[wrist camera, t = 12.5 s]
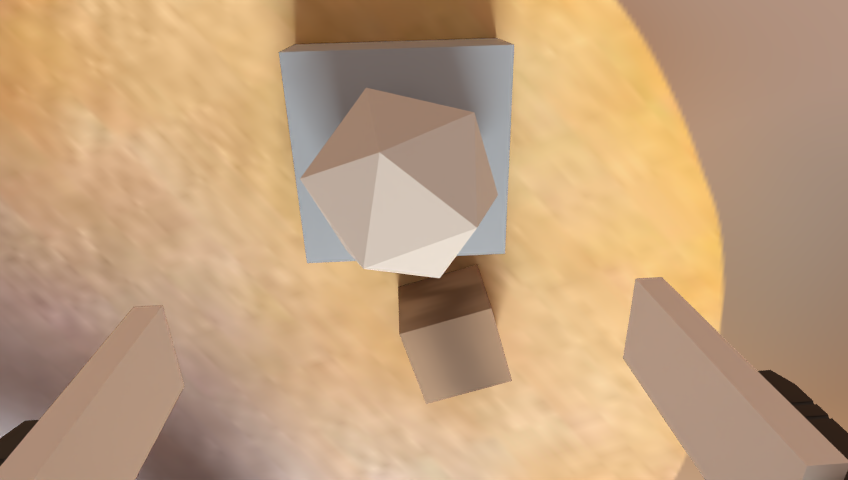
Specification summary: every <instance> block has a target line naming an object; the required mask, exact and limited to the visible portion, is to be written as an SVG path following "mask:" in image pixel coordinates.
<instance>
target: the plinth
mask: <svg viewBox="0 0 848 480" xmlns="http://www.w3.org/2000/svg"><path fill="white" fill-rule="evenodd" d="M279 57H280V65H281V72H282V80H283V87H284V94H285V102H286V109H287V117H288V124H289V132H290V139H291V147H292V154H293V162H294V169H295V176H296V184H297V191H298V199H299V206H300V214H301V221H302V229H303V236H304V244H305V251H306V258H307V263H320V262H340V261H356V260H355V259H354V258H353V257H352V256H351V255H350V254H349V253H348V251H347V250H346V249H345V247H344V246H343V244H342V243H341V241H340V240H339V238H338V237H337V235H336V234H335V232H334V230H333V229H332V227H331V226H330V224H329V223H328V221H327V220H326V218H325V217H324V215H323V214H322V212H321V210H320V209H319V207H318V206H317V204H316V203H315V201H314V200H313V198H312V197H311V195H310V194H309V192H308V191H307V189H306V187H305V186H304V184H303V183H302V181H301V180H300V178H301V177H302V175H303V174H304V173H305V171H306V170H307V168H308V167H309V166H310V164H311V163H312V162H313V160H314V159H315V157H316V156H317V155H318V153H319V152H320V151H321V149H322V148H323V146H324V145H325V144H326V142H327V141H328V140H329V138H330V137H331V135H332V134H333V133H334V131H335V130H336V129H337V127H338V126H339V124H340V123H341V122H342V120H343V119H344V118H345V116H346V115H347V113H348V112H349V111H350V109H351V108H352V107H353V105H354V104H355V102H356V101H357V100H358V98H359V97H360V96H361V94H362V93H363V91H364V90H365V89H366V88H370V89H374V90H379V91H383V92H387V93H392V94H396V95H400V96H405V97H409V98H414V99H418V100H422V101H427V102H431V103H435V104H440V105H444V106H449V107H453V108H457V109H462V110H466V111H470V112H474V113H475V116H476V120H477V123H478V127H479V130H480V134H481V137H482V141H483V144H484V148H485V151H486V155H487V158H488V161H489V165H490V168H491V172H492V175H493V179H494V182H495V186H496V189H497V193H498V196H497V197H496V199H495V201H494V202H493V204H492V205H491V207H490V208H489V210H488V212H487V213H486V215H485V216H484V218H483V220H482V221H481V223H480V224H479V226H478V227H477V229H476V230H475V231H474V233H473V234H472V236H471V237H470V238H469V240H468V241H467V242H466V244H465V245H464V246H463V248H462V249H461V250H460V252H459V253H458V254H457V256H465V255H486V254H505V240H506V217H507V195H508V172H509V150H510V127H511V105H512V82H513V60H514V44H511V43H508V42H506V41H503V40H501V39H498V38H479V39H447V40H415V41H383V42H351V43H318V44H295V45H293V46H291V47H288V48H286V49H284V50H282V51H280V52H279Z"/></svg>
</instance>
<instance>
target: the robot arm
mask: <svg viewBox="0 0 848 480" xmlns="http://www.w3.org/2000/svg"><path fill="white" fill-rule="evenodd" d="M623 359H624V360H625V362H626V363H627V365H628V366H629V368H630V369H631V371H632V372H633V374H634V375H635V377H636V378H637V380H638V381H639V383H640V384H641V386H642V387H643V389H644V390H645V392H646V393H647V395H648V396H649V398H650V399H651V400H652V402H653V403H654V405H655V406H656V408H657V409H658V411H659V412H660V414H661V415H662V417H663V418H664V420H665V421H666V423H667V424H668V426H669V427H670V429H671V430H672V432H673V433H674V435H675V436H676V438H677V439H678V441H679V442H680V444H681V445H682V447H683V448H684V449H685V451H686V452H687V454H688V455H689V457H690V458H691V460H692V461H693V463H694V464H695V466H696V467H697V468H698V470H699V472H700V473H701V475H702V476H703V478H704V479H705V480H848V433H847V432H846V431H845V430H844V429H843V428H842V427H841V426H840V425H839V424H838V423H836V422H835V421H834V420H833V419H829V417H828V414H827V413H826V412H825V411H823V410H822V409H821V408H820V407H819V406H818V405H817V404H816V405H815V404H814V403H813V401H812V399H810V398H809V397H808V396H807V395H806V394H805V393H804V392H803V391H802V390H801V389H800V388H799V387H798V386H796V385H795V384H794V383H792V382H790V381H788V380H787V379H785V378H783V377H782V376H780V375H778V374H776V373H775V372H773V371H771V370H766V371H757V370H756V369H755V368H754V367H753V366H752V365H751V364H750V363H749V362H748V361H747V360H746V359H745V358H744V357H743V356H742V355H741V354H740V353H738V351H737V350H736V349H734V347H733V346H731V345H730V344H729V343H728V342H727V341H726V340H725V339H724V338H723V337H722V336H721V335H720V334H719V333H718V332H717V331H716V330H715V329H714V328H713V327H712V326H711V325H710V324H709V323H708V322H707V321H706V320H705V319H704V318H703V317H702V316H701V315H700V314H699V313H698V312H697V311H696V310H695V309H694V308H693V307H692V306H691V305H690V304H689V303H688V302H687V301H686V300H685V299H684V298H683V297H682V296H681V295H680V294H679V293H678V292H677V291H676V290H675V289H673V288H672V287H671V286H670V285H669V284H668V283H667V282H666V281H665V280H664V279H663V278H662V277H657V278H639V279H636V280H635V286H634V293H633V299H632V305H631V311H630V318H629V324H628V330H627V337H626V343H625V349H624V356H623ZM183 388H184V383H183V379H182V376H181V372H180V368H179V364H178V361H177V357H176V353H175V349H174V346H173V342H172V338H171V334H170V331H169V327H168V323H167V320H166V316H165V312H164V308H163V305H158V306H140V307H133V308H132V309H131V311H130V312H129V313H128V314H127V315H126V317H125V318H124V319H123V320H122V321H121V323H120V324H119V325H118V326H117V327H116V329H115V330H114V331H113V332H112V333H111V335H110V336H109V337H108V338H107V339H106V341H105V342H104V343H103V344H102V345H101V347H100V348H99V349H98V350H97V351H96V353H95V354H94V355H93V356H92V357H91V359H90V360H89V361H88V362H87V363H86V365H85V366H84V367H83V368H82V369H81V371H80V372H79V373H78V374H77V375H76V376H75V378H74V379H73V380H72V381H71V382H70V384H69V385H68V386H67V387H66V388H65V390H64V391H63V392H62V393H61V394H60V396H59V397H58V398H57V399H56V400H55V402H54V403H53V404H52V405H51V406H50V408H49V409H48V410H47V411H46V412H45V414H44V415H43V416H42V417H41V418H40V420H31V421H24V422H23V423H21V424H20V425H18V426H17V427H16V428H14V429H13V430H12V431H10V432H9V433H7V434H6V435H5V436H3V437H2V438H0V480H135V479H136V477H137V475H138V473H139V471H140V469H141V467H142V466H143V464H144V462H145V460H146V458H147V456H148V454H149V452H150V450H151V449H152V447H153V445H154V443H155V441H156V439H157V437H158V435H159V433H160V432H161V430H162V428H163V426H164V424H165V422H166V420H167V418H168V416H169V414H170V413H171V411H172V409H173V407H174V405H175V403H176V401H177V399H178V397H179V396H180V394H181V392H182V390H183Z"/></svg>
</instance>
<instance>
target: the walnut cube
mask: <svg viewBox="0 0 848 480" xmlns="http://www.w3.org/2000/svg"><path fill="white" fill-rule="evenodd" d="M398 296H399V334H400V337H401V339H402V342H403V345H404V347H405V350H406V352H407V355H408V358H409V360H410V363H411V365H412V368H413V371H414V373H415V376H416V378H417V381H418V384H419V386H420V389H421V391H422V394H423V397H424V399H425V402H426V404H428V403H432V402H435V401H439V400H443V399H446V398H450V397H454V396H457V395H461V394H465V393H469V392H472V391H476V390H480V389H483V388H487V387H491V386H494V385H498V384H502V383H506V382H509V381H512V379H511V375H510V372H509V368H508V365H507V361H506V358H505V354H504V351H503V347H502V344H501V340H500V337H499V333H498V329H497V326H496V322H495V319H494V315H493V312H492V308H491V305H490V302H489V299H488V296H487V293H486V290H485V287H484V284H483V281H482V277H481V274H480V271H479V268H478V265H473V266H470V267H466V268H463V269H459V270H456V271H452V272H449V273H446V274H443V275H442V276H441V277H440V278H433V277H432V278H428V279H425V280H421V281H418V282H414V283H411V284H407V285H404V286H400V287H398Z"/></svg>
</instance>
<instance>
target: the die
mask: <svg viewBox="0 0 848 480" xmlns="http://www.w3.org/2000/svg"><path fill="white" fill-rule="evenodd" d="M300 180H301V181H302V183H303V184H304V186H305V187H306V189H307V191H308V192H309V194H310V195H311V197H312V198H313V200H314V201H315V203H316V204H317V206H318V207H319V209H320V210H321V212H322V214H323V215H324V217H325V218H326V220H327V221H328V223H329V224H330V226H331V227H332V229H333V230H334V232H335V234H336V235H337V237H338V238H339V240H340V241H341V243H342V244H343V246H344V247H345V249H346V250H347V251H348V253H349V254H350V255H351V256H352V257H353V258H354V259H355V260H356V261H357V262H358V263H359V264H360V266H361V267H362V268H363V269H370V270H378V271H386V272H394V273H402V274H410V275H417V276H425V277H433V278H440V277H441V276H442V275H443V273H444V272H445V271H446V269H447V268H448V267H449V265H450V264H451V262H452V261H453V260H454V258H455V257H456V256H457V254H458V253H459V252H460V250H461V249H462V248H463V246H464V245H465V244H466V242H467V241H468V240H469V238H470V237H471V236H472V234H473V233H474V231H475V230H476V229H477V227H478V226H479V224H480V223H481V221H482V220H483V218H484V216H485V215H486V213H487V212H488V210H489V208H490V207H491V205H492V204H493V202H494V201H495V199H496V197H497V196H498V193H497V189H496V186H495V182H494V179H493V175H492V172H491V168H490V165H489V161H488V158H487V155H486V151H485V148H484V144H483V141H482V137H481V134H480V130H479V127H478V123H477V120H476V116H475V113H474V112H470V111H466V110H462V109H457V108H453V107H449V106H444V105H440V104H435V103H431V102H427V101H422V100H418V99H414V98H409V97H405V96H400V95H396V94H392V93H387V92H383V91H379V90H374V89H370V88H366V89H365V90H364V91H363V93H362V94H361V96H360V97H359V98H358V100H357V101H356V102H355V104H354V105H353V107H352V108H351V109H350V111H349V112H348V113H347V115H346V116H345V118H344V119H343V120H342V122H341V123H340V124H339V126H338V127H337V129H336V130H335V131H334V133H333V134H332V135H331V137H330V138H329V140H328V141H327V142H326V144H325V145H324V146H323V148H322V149H321V151H320V152H319V153H318V155H317V156H316V157H315V159H314V160H313V162H312V163H311V164H310V166H309V167H308V168H307V170H306V171H305V173H304V174H303V175H302V177H301V178H300Z"/></svg>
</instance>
